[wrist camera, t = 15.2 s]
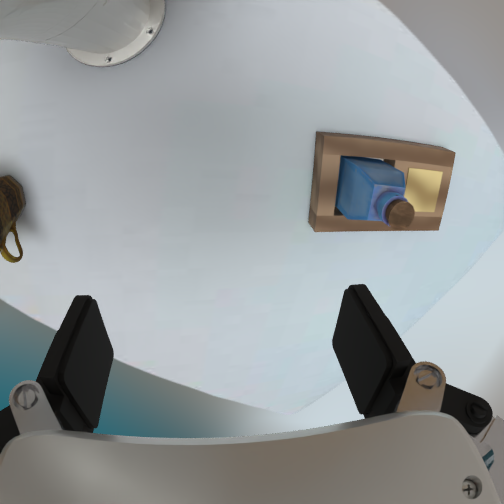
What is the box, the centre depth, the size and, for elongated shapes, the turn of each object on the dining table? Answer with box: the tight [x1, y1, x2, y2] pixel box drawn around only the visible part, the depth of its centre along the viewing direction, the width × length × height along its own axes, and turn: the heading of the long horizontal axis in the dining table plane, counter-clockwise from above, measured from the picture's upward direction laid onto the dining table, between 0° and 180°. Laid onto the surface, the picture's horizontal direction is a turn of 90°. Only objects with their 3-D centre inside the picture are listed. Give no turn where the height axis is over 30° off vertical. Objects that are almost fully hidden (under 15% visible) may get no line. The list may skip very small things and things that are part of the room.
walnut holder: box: [308, 132, 455, 232], centre depth 38 cm, size 12×20×3 cm, turn 89°
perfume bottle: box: [335, 155, 415, 231], centre depth 34 cm, size 6×6×12 cm
